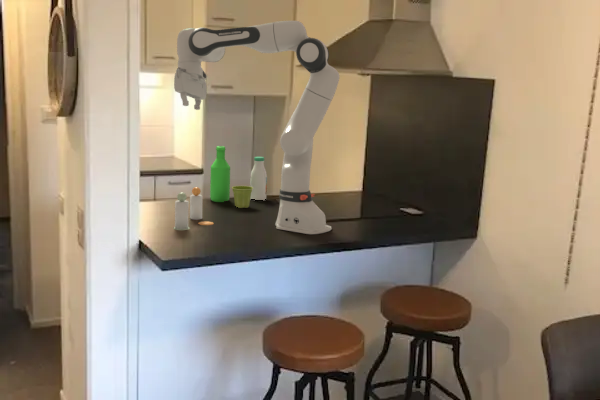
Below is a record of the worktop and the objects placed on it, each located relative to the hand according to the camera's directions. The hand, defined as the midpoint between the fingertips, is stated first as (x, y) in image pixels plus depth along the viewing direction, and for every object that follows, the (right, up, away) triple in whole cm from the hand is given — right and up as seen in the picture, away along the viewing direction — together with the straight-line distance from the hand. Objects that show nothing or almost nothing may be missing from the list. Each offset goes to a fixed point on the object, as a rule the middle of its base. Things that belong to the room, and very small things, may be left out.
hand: (191, 107), depth 245 cm
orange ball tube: (0, -43, +8) cm, 44 cm away
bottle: (+5, -36, +49) cm, 61 cm away
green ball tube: (-2, -46, -9) cm, 47 cm away
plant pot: (+16, -39, +38) cm, 56 cm away
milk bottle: (+22, -35, +56) cm, 70 cm away
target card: (+2, -46, -4) cm, 46 cm away
